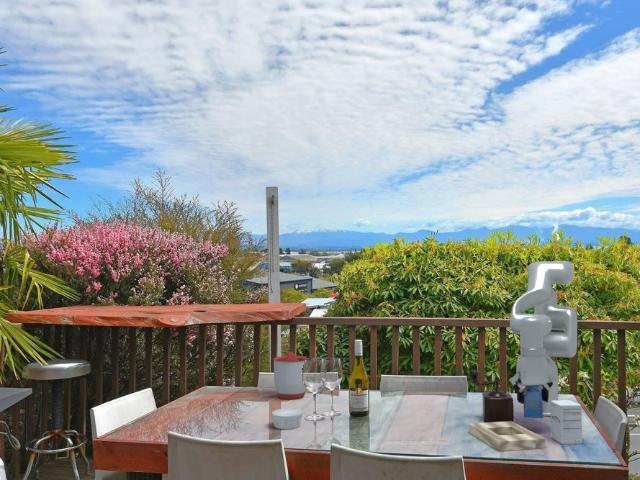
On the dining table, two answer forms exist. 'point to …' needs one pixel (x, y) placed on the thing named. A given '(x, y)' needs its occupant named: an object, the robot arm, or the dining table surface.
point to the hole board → (507, 436)
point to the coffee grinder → (495, 402)
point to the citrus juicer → (289, 376)
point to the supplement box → (566, 422)
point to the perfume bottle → (533, 403)
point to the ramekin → (287, 418)
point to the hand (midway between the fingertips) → (532, 401)
